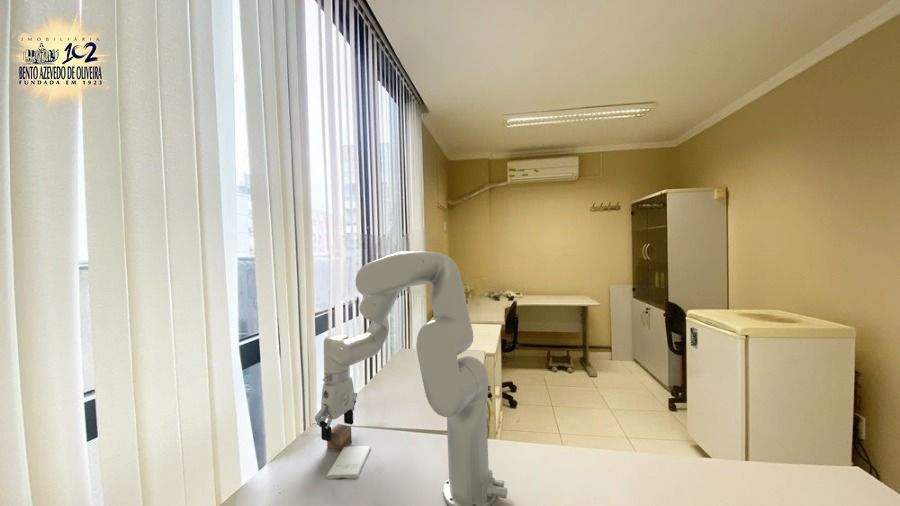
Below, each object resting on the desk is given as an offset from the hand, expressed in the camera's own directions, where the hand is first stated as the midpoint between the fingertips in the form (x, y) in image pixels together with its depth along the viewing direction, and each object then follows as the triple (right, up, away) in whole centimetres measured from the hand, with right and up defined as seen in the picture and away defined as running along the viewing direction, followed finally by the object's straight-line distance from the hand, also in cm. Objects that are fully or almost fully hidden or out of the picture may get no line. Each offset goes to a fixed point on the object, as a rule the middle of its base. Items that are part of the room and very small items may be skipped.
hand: (338, 431), depth 97 cm
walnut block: (+1, -4, 0) cm, 4 cm away
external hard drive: (+7, -4, -9) cm, 12 cm away
